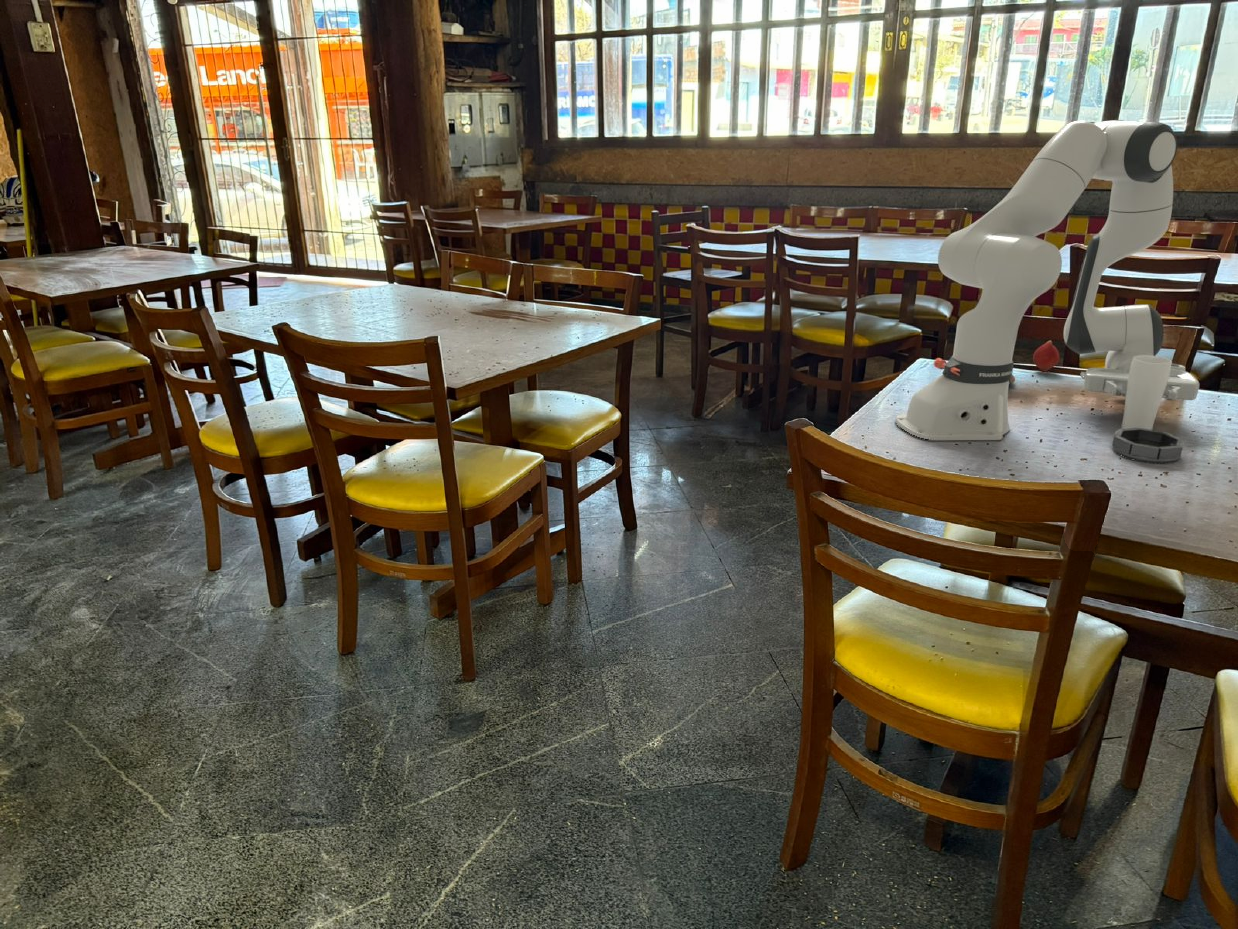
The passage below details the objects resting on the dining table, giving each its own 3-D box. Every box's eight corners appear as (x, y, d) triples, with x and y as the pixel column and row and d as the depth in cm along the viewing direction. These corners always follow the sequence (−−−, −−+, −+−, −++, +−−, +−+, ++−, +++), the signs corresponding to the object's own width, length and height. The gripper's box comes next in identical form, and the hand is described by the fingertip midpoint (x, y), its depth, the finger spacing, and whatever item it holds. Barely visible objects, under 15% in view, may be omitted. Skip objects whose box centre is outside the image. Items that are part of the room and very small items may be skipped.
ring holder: (1140, 465, 153) (1144, 450, 152) (1099, 445, 163) (1102, 430, 162) (1194, 461, 154) (1198, 446, 153) (1149, 441, 164) (1152, 426, 163)
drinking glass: (1152, 439, 165) (1170, 365, 160) (1114, 432, 169) (1129, 360, 164) (1157, 430, 170) (1174, 358, 165) (1119, 423, 174) (1135, 353, 169)
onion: (1027, 371, 211) (1033, 340, 209) (1035, 367, 215) (1040, 336, 212) (1052, 376, 208) (1057, 344, 205) (1059, 371, 212) (1065, 340, 209)
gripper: (1082, 357, 181) (1088, 373, 169) (1193, 366, 173) (1208, 383, 162) (1076, 385, 183) (1082, 403, 171) (1185, 395, 176) (1200, 414, 164)
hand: (1144, 394), depth 166 cm, fingers open, 8 cm apart
